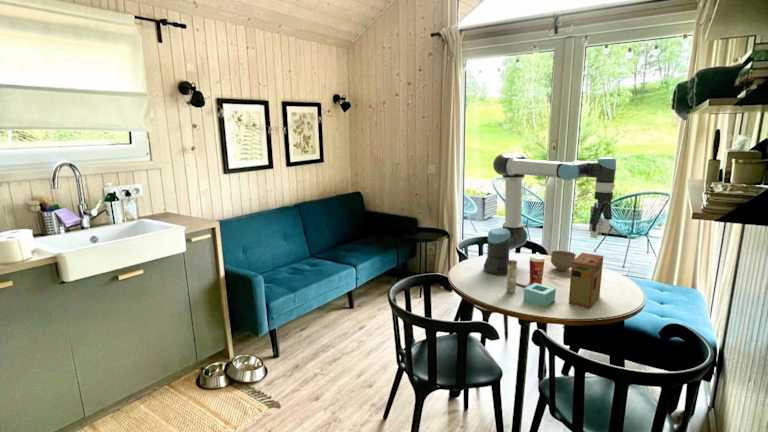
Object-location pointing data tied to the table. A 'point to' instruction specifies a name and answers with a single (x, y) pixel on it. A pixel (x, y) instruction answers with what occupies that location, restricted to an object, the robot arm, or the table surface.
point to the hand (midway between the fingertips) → (599, 235)
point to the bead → (539, 294)
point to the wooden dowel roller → (511, 276)
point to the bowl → (562, 259)
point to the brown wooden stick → (521, 285)
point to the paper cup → (536, 268)
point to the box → (585, 280)
